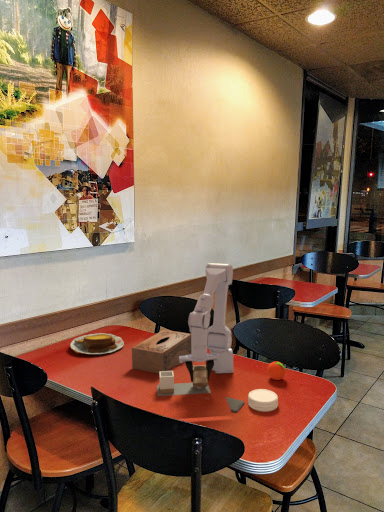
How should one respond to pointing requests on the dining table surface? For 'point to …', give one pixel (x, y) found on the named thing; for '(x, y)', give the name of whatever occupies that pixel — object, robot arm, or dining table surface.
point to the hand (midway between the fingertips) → (199, 380)
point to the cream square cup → (166, 381)
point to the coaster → (263, 400)
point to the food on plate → (96, 343)
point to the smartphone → (234, 404)
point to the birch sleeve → (199, 376)
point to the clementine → (276, 370)
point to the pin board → (185, 389)
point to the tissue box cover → (161, 351)
